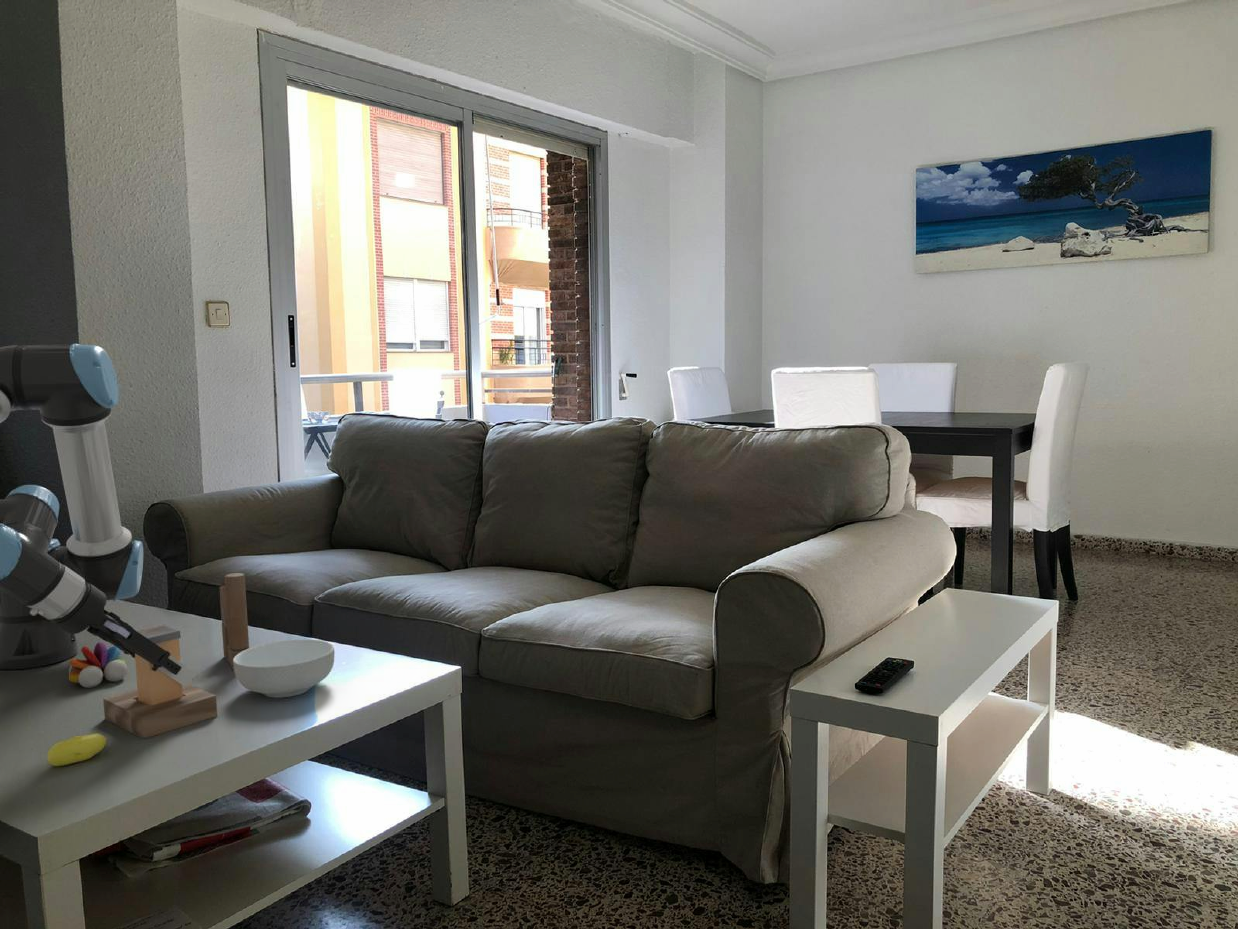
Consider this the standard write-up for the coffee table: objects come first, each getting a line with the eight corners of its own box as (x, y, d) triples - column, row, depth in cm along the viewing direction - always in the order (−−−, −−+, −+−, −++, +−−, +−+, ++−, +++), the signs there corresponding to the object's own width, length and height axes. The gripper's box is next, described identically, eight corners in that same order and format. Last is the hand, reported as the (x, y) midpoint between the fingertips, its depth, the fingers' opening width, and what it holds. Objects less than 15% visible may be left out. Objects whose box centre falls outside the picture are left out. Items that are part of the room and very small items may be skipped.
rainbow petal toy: (62, 683, 178) (59, 645, 177) (117, 670, 185) (114, 633, 184) (78, 693, 172) (75, 654, 171) (135, 679, 179) (132, 641, 178)
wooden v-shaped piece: (242, 653, 193) (237, 565, 191) (252, 667, 184) (246, 575, 182) (223, 656, 192) (217, 567, 190) (232, 671, 182) (226, 577, 180)
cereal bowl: (341, 671, 181) (339, 635, 180) (330, 702, 164) (328, 662, 164) (246, 678, 178) (243, 641, 177) (225, 711, 161) (222, 670, 161)
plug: (137, 715, 158) (131, 632, 156) (170, 705, 162) (164, 625, 161) (152, 723, 155) (146, 638, 153) (185, 713, 159) (180, 630, 157)
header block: (104, 719, 159) (103, 698, 158) (176, 698, 168) (175, 678, 168) (143, 739, 150) (142, 717, 149) (217, 715, 159) (215, 695, 159)
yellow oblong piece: (44, 765, 141) (41, 739, 141) (103, 749, 147) (101, 724, 146) (52, 773, 138) (50, 747, 138) (112, 756, 144) (110, 731, 143)
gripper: (27, 612, 150) (142, 685, 165) (75, 632, 139) (194, 708, 153) (61, 572, 154) (170, 647, 168) (111, 588, 142) (223, 667, 157)
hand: (181, 676), depth 161 cm, fingers closed on plug, 5 cm apart
